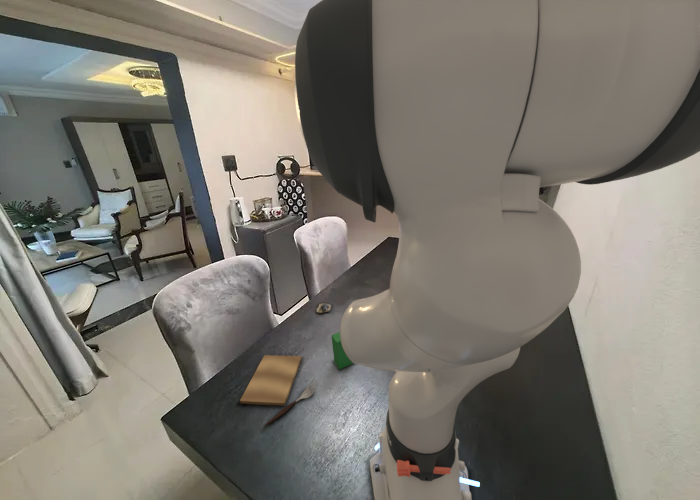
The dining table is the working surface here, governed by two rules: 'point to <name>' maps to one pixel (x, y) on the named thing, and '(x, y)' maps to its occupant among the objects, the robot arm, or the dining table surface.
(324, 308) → the tan grey flat shell
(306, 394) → the fork
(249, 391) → the board
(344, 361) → the brick
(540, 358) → the dining table surface
